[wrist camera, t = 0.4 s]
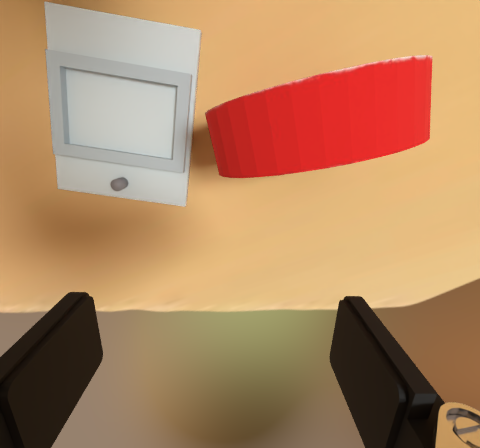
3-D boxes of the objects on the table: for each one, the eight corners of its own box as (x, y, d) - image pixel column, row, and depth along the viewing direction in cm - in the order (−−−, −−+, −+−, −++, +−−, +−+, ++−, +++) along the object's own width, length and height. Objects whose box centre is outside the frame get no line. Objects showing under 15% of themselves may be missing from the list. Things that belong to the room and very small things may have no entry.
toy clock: (223, 163, 37) (210, 192, 18) (213, 120, 36) (188, 103, 17) (363, 133, 36) (503, 132, 17) (361, 87, 35) (514, 30, 16)
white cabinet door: (50, 5, 31) (31, -8, 28) (201, 33, 32) (198, 23, 29) (62, 187, 38) (48, 191, 35) (186, 204, 39) (182, 210, 36)
